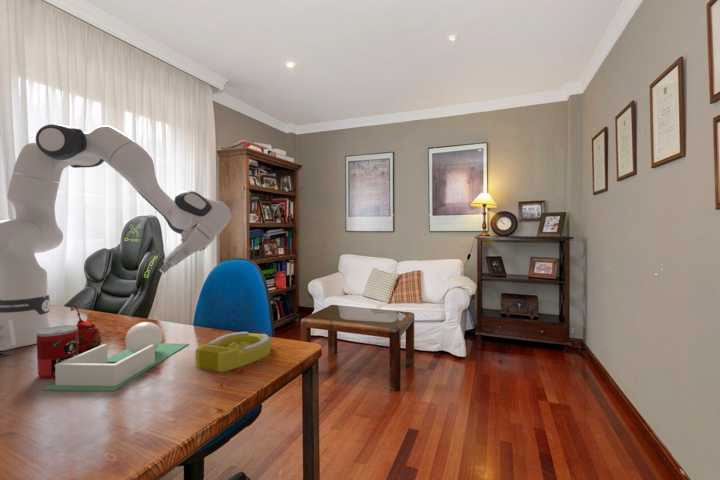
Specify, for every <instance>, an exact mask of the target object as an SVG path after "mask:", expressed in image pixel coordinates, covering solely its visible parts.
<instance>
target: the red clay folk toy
mask: <svg viewBox="0 0 720 480" xmlns="http://www.w3.org/2000/svg"><path fill="white" fill-rule="evenodd" d="M72 304H74V305H71V306H70V311H71V312H73V311H75V310H76V312H77V315H76V316H77V317H78V322H77V324H76V325H75V326H77V327H78V355H79V354H82V353H84V352H86V351H89V350H91V349H93V348H96V347H98V346H101V345H102V344H101V343H102V335H101V334H100V330H99V328H98V327H97V326H96V324H95V323H96V322H93V321H92V320H90V319H87V320H83V319H82V318H81V312H79V308H78V306H80V305H82V303H79V304H76V302H75V301H72Z"/></svg>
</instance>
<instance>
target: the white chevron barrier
mask: <svg viewBox="0 0 720 480" xmlns="http://www.w3.org/2000/svg"><path fill="white" fill-rule="evenodd" d="M108 358H109V357H108V344H107V343H104V344H100V346H98V347H96V348H93V349H91V350H89V351H86V352H84V353H82V354H78V355H77V356H74V357H72V358H70V359H67V360H65V361H63V362H60V363H58V364H55V376H56V378H55V383H56V385H85V386H116V385H118V384H120V383H121V382H123V381H125V380H126V379H128V378H130V377H131V376H133V375H135V374H136V373H138V372H139V371H141V370H143V369H144V368H146V367H148V366H149V365H151V364H153V363H154V362H155V345H149V346H148V347H146V348H144V349H142V350H140V351H138V352H136V353H134V354H132V355H130V356H128V357H126V358H124V359H122V360H120V361H118V362H116V363H108Z"/></svg>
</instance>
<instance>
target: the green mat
mask: <svg viewBox="0 0 720 480" xmlns="http://www.w3.org/2000/svg"><path fill="white" fill-rule="evenodd" d="M187 346H189V343H173V342H172V343H170V342H169V343H167V342H166V343H165V342H163V343H162V342H161V343H160V345H159V346H158V347H157V349H155V362H154V363H153V364H151V365H149V366H148V367H146V368H144V369H143V370H141V371H139V372H138V373H136V374H135V375H133V376H131V377H130V378H128V379H126V380H125V381H123V382H121V383H120V384H118V385H116V386H85V385H56V382H54V383H52V384H51V385H49V386H45V387H44V388H42V391H54V392H55V391H56V392H58V391H61V392H66V391H67V392H69V391H70V392H71V391H72V392H115V391H116V390H118V389H120V388H121V387H123V386H124V385H126V384H128V383H130V382H131V381H132V380H134V379H136V378H137V377H139V376H140V375H143V374H144V373H145V372H147V371H149V370H150V369H152V368H154V367H156V365H158V364H160V363H162V362H163V361H164V360H167V359H168V358H170V357H171V356H173V355H175V354H176V353H177V352H180V351H181V350H182V349H185V347H187ZM132 354H134V353H132V352H131V351H129V350H128V348H127V347H126V349H123V350H121V351H119V352H117V353H115V354H113V355H111V356H109V357H108V363H107V364H114V363H116V362H118V361H120V360H122V359H124V358H126V357H128V356H130V355H132Z"/></svg>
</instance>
